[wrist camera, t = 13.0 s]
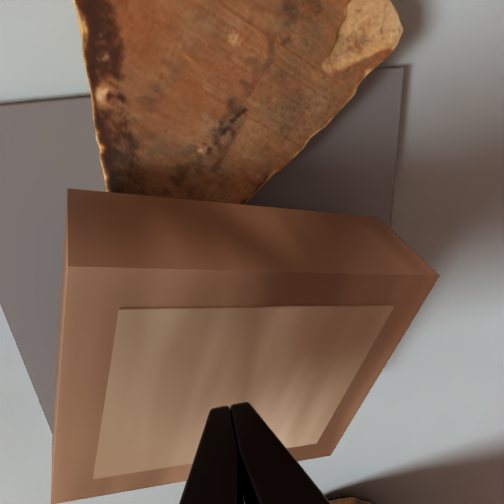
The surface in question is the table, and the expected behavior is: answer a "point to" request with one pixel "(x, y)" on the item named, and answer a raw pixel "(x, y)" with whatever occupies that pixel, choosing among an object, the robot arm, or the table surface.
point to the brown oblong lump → (349, 501)
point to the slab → (215, 330)
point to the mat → (91, 178)
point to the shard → (221, 86)
